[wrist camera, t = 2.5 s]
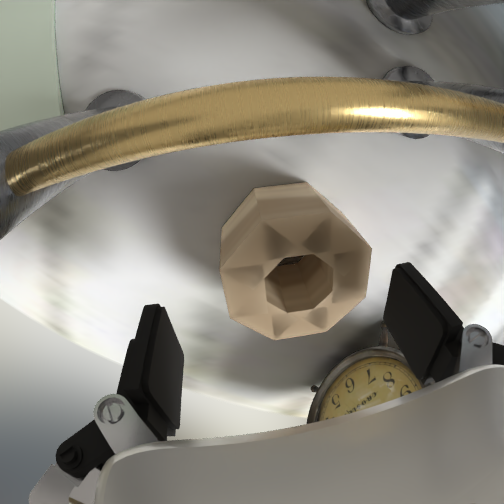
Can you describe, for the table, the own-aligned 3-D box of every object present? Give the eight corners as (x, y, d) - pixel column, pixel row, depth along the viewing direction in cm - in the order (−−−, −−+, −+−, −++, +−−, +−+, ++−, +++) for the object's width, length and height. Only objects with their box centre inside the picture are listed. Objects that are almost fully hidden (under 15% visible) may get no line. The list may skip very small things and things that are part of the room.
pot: (341, 179, 14) (375, 207, 11) (338, 280, 17) (360, 324, 14) (215, 193, 14) (210, 227, 11) (234, 295, 17) (236, 345, 14)
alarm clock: (383, 303, 19) (480, 511, 5) (418, 324, 21) (500, 488, 7) (291, 387, 23) (321, 561, 9) (333, 397, 25) (370, 544, 11)
